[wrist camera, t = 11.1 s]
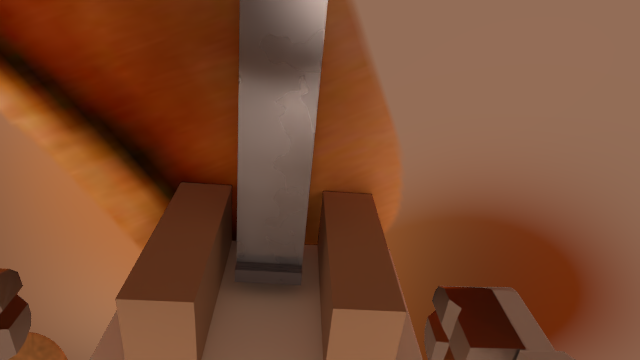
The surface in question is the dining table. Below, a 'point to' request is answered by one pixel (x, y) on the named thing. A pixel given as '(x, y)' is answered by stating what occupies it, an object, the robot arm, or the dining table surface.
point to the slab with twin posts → (260, 291)
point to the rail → (276, 134)
